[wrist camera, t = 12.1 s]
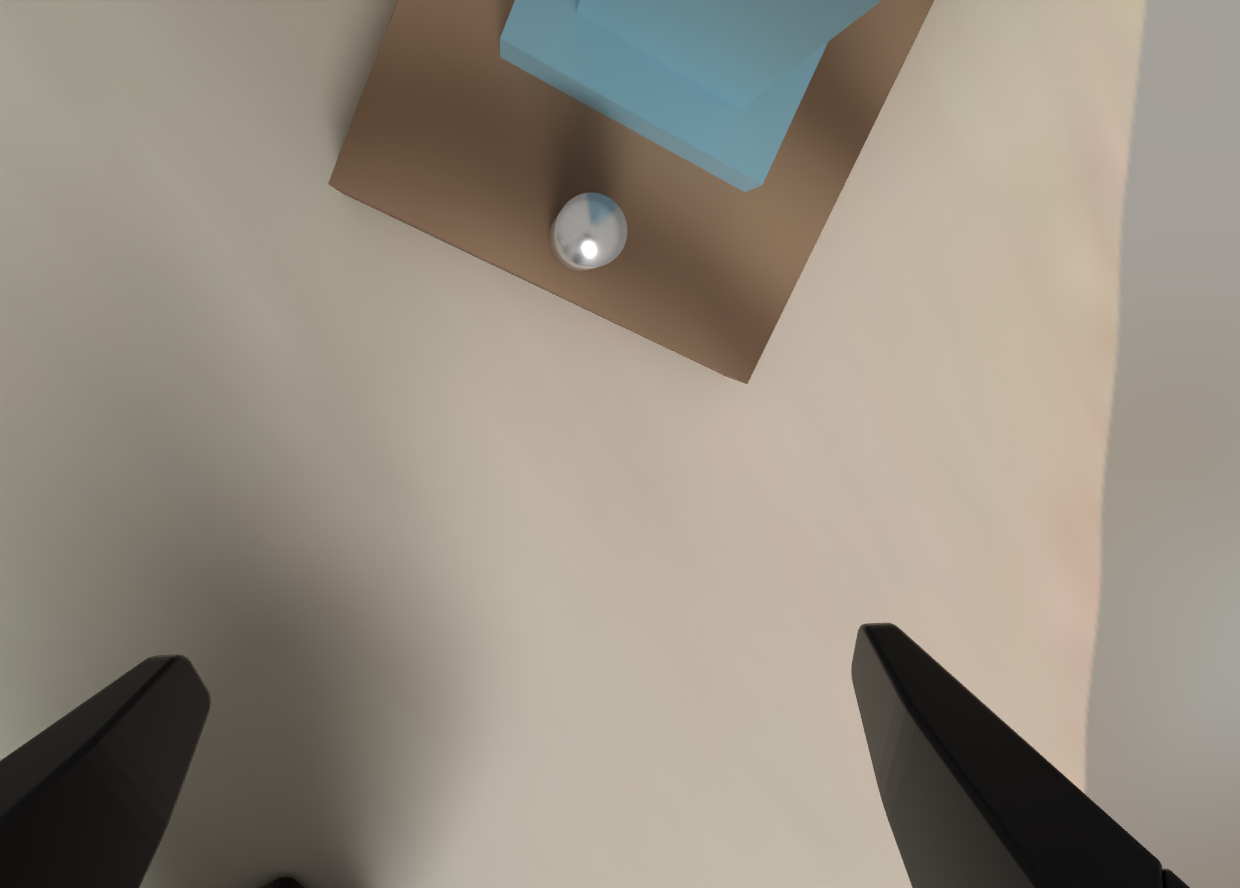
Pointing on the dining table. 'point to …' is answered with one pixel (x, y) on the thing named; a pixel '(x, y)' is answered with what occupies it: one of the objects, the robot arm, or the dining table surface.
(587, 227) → the dowel pins
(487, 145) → the walnut base plate
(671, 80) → the stepped blue block
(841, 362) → the dining table surface
